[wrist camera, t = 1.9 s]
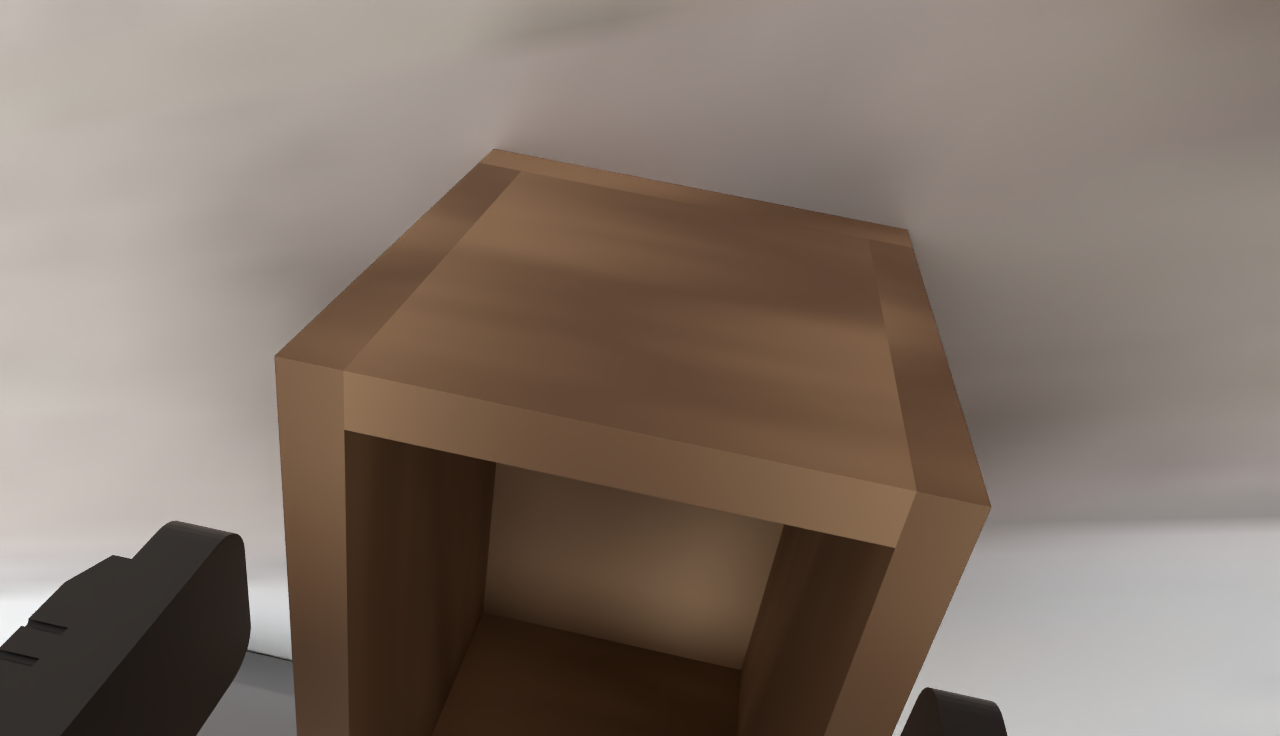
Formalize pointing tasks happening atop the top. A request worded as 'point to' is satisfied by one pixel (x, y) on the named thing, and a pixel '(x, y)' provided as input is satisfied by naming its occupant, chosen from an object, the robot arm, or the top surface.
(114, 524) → the top surface
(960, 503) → the crate small
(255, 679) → the crate large
